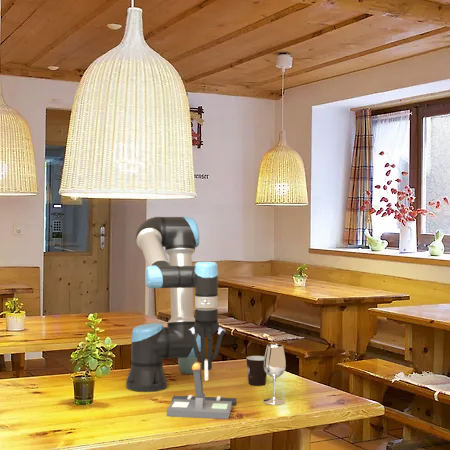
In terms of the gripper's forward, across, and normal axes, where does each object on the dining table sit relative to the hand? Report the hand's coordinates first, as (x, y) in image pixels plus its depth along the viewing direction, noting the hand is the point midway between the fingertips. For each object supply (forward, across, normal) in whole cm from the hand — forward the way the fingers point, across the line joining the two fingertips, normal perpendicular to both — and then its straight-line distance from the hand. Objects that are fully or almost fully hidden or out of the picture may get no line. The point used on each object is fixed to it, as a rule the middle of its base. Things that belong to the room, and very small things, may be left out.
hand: (206, 379), depth 249 cm
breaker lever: (+7, -2, 0) cm, 7 cm away
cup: (+11, -13, +55) cm, 58 cm away
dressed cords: (+11, -2, +11) cm, 15 cm away
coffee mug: (+11, +15, +43) cm, 47 cm away
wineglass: (+11, +22, +16) cm, 29 cm away
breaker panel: (+11, -2, 0) cm, 11 cm away
